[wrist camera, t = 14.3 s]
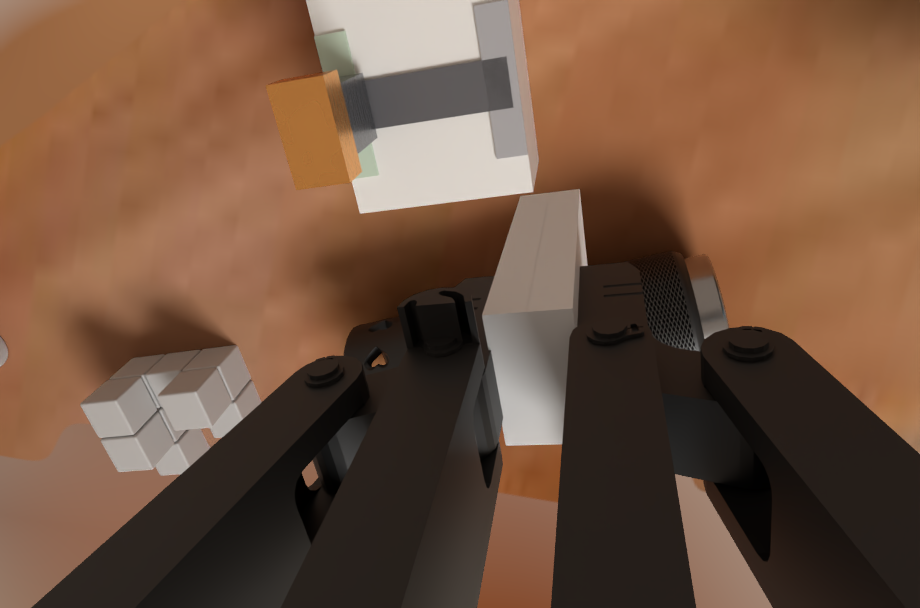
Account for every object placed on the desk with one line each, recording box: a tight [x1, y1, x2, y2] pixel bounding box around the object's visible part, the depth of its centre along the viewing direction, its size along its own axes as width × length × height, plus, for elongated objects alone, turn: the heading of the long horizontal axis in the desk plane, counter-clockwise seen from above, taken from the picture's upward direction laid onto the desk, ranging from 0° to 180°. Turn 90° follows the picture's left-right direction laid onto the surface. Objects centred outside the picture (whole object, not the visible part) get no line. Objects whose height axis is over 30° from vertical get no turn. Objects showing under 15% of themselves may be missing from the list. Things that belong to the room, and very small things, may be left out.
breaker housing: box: [306, 0, 539, 214], centre depth 44 cm, size 12×14×8 cm
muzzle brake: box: [344, 251, 729, 375], centre depth 50 cm, size 10×28×10 cm, turn 108°
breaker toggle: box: [266, 70, 378, 190], centre depth 37 cm, size 3×6×8 cm, turn 10°
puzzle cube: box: [80, 345, 262, 475], centre depth 62 cm, size 12×12×8 cm
